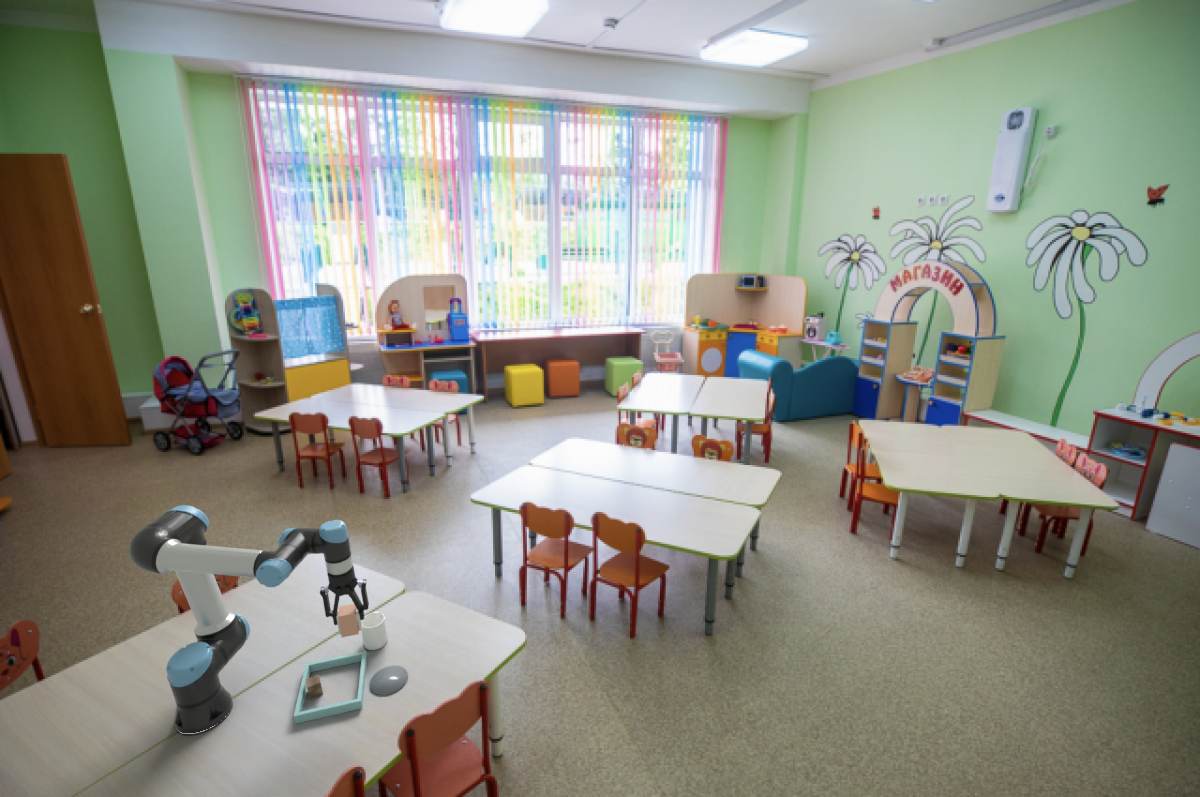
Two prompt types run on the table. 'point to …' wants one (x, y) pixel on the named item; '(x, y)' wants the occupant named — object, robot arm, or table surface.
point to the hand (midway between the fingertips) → (351, 629)
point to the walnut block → (314, 686)
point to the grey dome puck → (388, 680)
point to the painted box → (348, 620)
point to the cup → (374, 631)
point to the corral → (334, 708)
